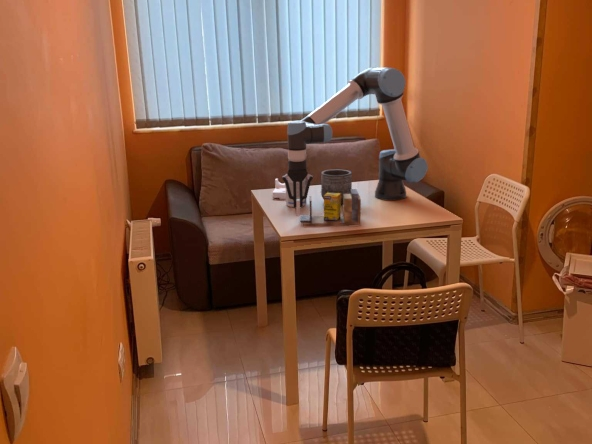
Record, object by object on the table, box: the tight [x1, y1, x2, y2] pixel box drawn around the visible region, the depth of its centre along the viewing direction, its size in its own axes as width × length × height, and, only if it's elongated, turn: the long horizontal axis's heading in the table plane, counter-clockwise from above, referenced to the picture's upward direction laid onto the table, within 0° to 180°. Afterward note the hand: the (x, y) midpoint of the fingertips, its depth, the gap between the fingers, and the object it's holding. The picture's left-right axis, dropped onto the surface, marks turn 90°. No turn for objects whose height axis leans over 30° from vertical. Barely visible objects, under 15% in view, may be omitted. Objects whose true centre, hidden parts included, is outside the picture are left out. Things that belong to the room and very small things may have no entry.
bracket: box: [272, 178, 286, 200], centre depth 294 cm, size 13×7×8 cm, turn 174°
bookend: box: [299, 195, 313, 223], centre depth 249 cm, size 5×8×9 cm, turn 179°
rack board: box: [301, 188, 362, 227], centre depth 248 cm, size 24×11×13 cm, turn 89°
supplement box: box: [323, 192, 342, 221], centre depth 248 cm, size 6×6×11 cm
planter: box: [320, 168, 353, 207], centre depth 277 cm, size 14×14×15 cm
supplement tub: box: [285, 176, 307, 208], centre depth 275 cm, size 10×10×15 cm
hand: (298, 214), depth 249 cm, fingers closed
